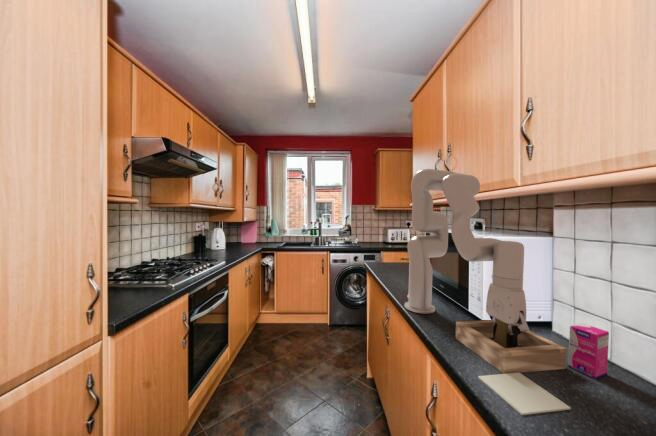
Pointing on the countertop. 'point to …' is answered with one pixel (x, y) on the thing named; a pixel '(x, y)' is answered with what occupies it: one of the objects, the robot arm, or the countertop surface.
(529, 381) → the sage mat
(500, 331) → the cork
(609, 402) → the countertop surface
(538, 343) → the box
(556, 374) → the countertop surface
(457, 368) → the countertop surface
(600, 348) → the supplement box
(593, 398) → the countertop surface
